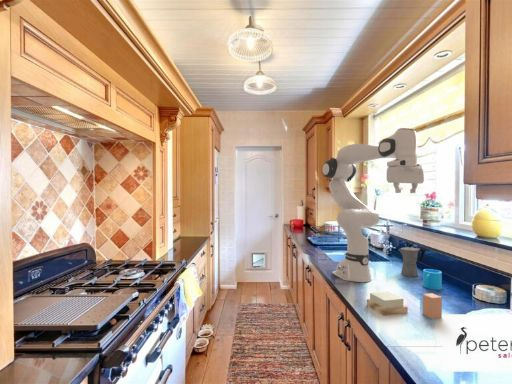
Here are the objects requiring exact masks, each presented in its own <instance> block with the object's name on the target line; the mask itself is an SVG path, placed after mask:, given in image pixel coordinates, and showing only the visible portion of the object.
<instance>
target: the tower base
mask: <svg viewBox="0 0 512 384" xmlns="http://www.w3.org/2000/svg"><path fill="white" fill-rule="evenodd" d="M366 306H368V307H369V308H371V309H373V310H374V311H376V312H377V313H379V314H381V315H382V316H389V315H390V316H391V315H400V314H402V315H403V314H408V311H409V310H408V308H409V307H408V306H406V305H405V304H403V306H401V307H391V308H383V307H381V306H380V305H378V304H376V303H374V302H373V301H371V300H370V298H369V299H368V298H367V299H366Z"/></svg>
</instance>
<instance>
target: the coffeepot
mask: <svg viewBox="0 0 512 384" xmlns="http://www.w3.org/2000/svg"><path fill="white" fill-rule="evenodd" d="M398 251H399V253H400V254H401V255H402V260H403V261H402V267H401V271H400V274H401V275H403V276H406V277H412V278H413V277H418V276H419V271H418V267H417V266H418V265H417V262H418V263H422V262H423V259H424V256H425V253H426V250H425V249H424V248H422V247H416V248H415V247H412V244H411V243H408V246H406V247H401V248H398ZM419 252H421V254H420V257H419V260H418V255H419Z"/></svg>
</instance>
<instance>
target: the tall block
mask: <svg viewBox="0 0 512 384" xmlns="http://www.w3.org/2000/svg"><path fill="white" fill-rule="evenodd" d="M442 300H443V299H442V296H440V295H438V294H435V293H433V292H432V293H431V292H430V293H423V294H422V315H424V316H425V317H427V318H429V319H431V320H435V319H441V318H442V311H443V310H442V309H443V308H442V307H443V304H442V303H443V301H442Z"/></svg>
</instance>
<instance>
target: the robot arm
mask: <svg viewBox="0 0 512 384" xmlns="http://www.w3.org/2000/svg"><path fill="white" fill-rule="evenodd" d="M417 148H418V137H417V132H416V130H415V129H413V128H404V127H403V128H402V127H400V128H397V130H396V131H395V132H394V133H393V134H392V135H390V136H388V137H385V138H383V139H381V140H380V142H379V143H378V145H377V146H376V145H371V144H367V143H366V144H365V143H353V144H349V145H346V146H342V147H341V148H340V149H339V150H338V151H337V154H336V157H330V159H329V160H325V162H324V164H322V166H321V172H322V176H323V177H325V178H328V179H331V180H330V182H329V184H328V188H329V190H330V193H331V195H332V197H333V199H334V201H335V202H336V204H337V206H338V207H339V208H340V211H338V213H337V216H336V222H337V225H338V226H339V227H340V228H341V229H342V230H343V232H344V233H345V235H346V242H347V243H346V245H347V249H346V250H347V251H346V252H345V253H344V254H343V255H344V256H345V257H344V259H342V260H341V261H339V262H338V263H337V265H336V269H335V270H334V271H332V274H333V275H335V277H338V278H339V279H341V280H343V281H346V282H354V283H355V282H358V283H366V282H371V281H372V274H371V269H370V253H369V239H368V238H367V237H366V236H365V235H364V234H363V232H362V229H369V228H372V227H375V226H377V225H378V224H379V221H380V215H379V213H378V212H377V211H376V210H375V209H372V208H371V207H369V206H367V205H366V204H364V203H363V202H362V201H361V200H360V199H358V198H357V196H356V194H354V192H353V190H352V189H351V188H350V186H349V185H348V182H350V181H352V179H353V178H355V175H356V174H357V166H356V165H357V164H361V163H364V162H369V161H370V162H371V161H373V160H378V159H393V160H390V161H387V163H386V165H387V168H386V181H387V183H392V184H393V188H394V190H395V193H396V194H401V192H402V189H401V188H400V187H399V186H400V184H411V189H409V193H410V194H416V191H417V188H418V184H423V183H424V182H425V176H424V169H423V167H422V165H421V164H420V163H418V162H417V161H418V155H417Z"/></svg>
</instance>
